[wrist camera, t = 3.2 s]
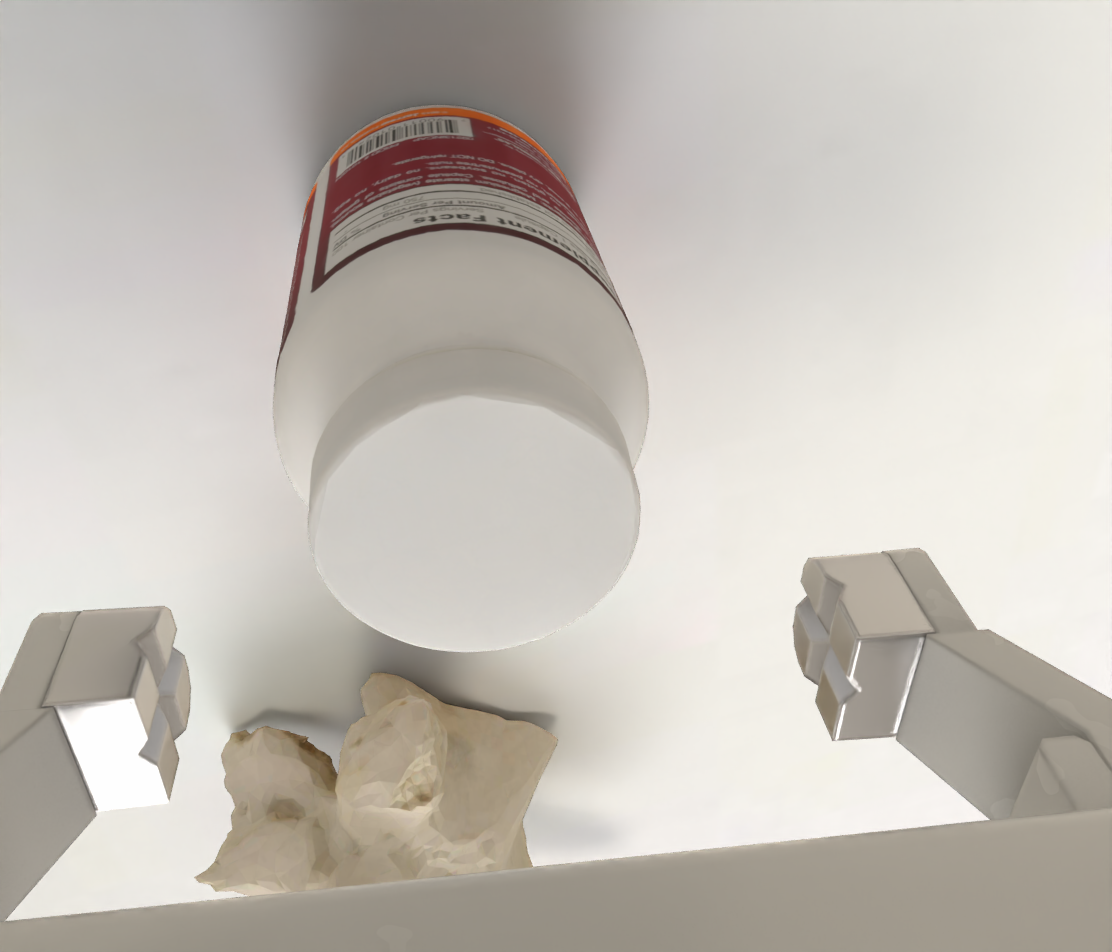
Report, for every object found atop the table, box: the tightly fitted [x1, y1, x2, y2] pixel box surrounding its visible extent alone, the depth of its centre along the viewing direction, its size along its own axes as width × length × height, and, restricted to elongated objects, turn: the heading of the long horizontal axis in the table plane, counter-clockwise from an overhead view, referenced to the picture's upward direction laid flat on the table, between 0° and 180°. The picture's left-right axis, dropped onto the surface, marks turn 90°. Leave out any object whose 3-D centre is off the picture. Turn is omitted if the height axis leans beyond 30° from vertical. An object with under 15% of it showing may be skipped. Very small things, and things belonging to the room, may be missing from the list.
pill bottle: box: [273, 105, 649, 652], centre depth 19 cm, size 6×6×11 cm
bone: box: [194, 673, 558, 896], centre depth 31 cm, size 9×14×8 cm, turn 40°
